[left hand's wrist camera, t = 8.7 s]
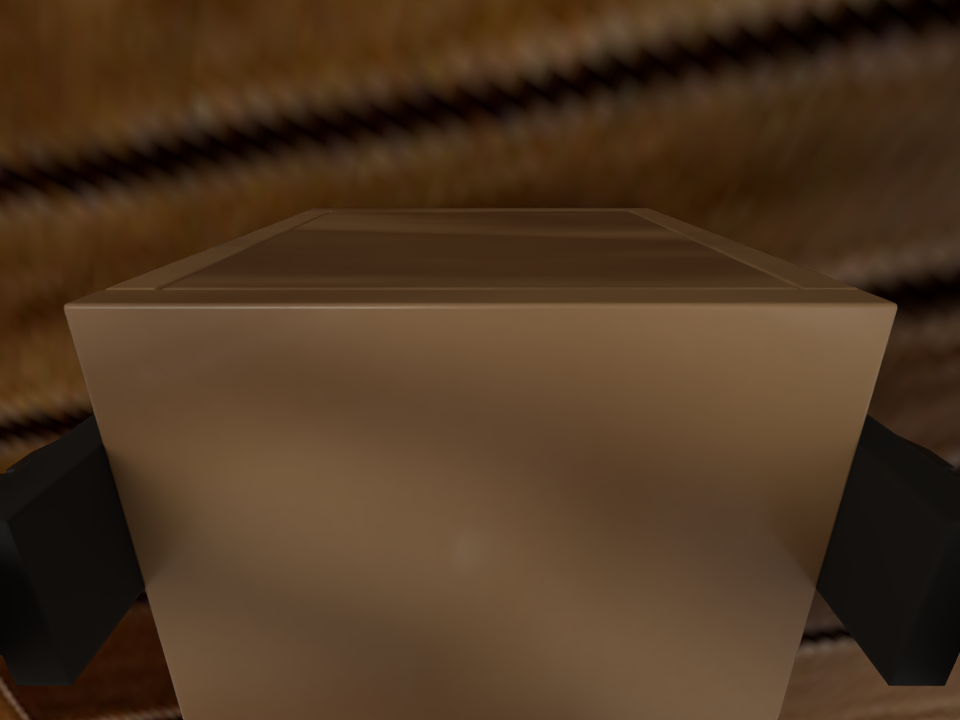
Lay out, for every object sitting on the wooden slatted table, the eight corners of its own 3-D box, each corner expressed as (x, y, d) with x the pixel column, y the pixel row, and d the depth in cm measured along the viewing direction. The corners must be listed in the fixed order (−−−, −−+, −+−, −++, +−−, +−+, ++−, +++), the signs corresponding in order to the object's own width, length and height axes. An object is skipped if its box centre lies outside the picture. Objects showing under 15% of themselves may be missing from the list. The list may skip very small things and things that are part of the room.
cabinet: (603, 626, 25) (698, 999, 14) (358, 626, 25) (263, 998, 14) (648, 207, 18) (901, 303, 7) (311, 208, 18) (59, 303, 7)
